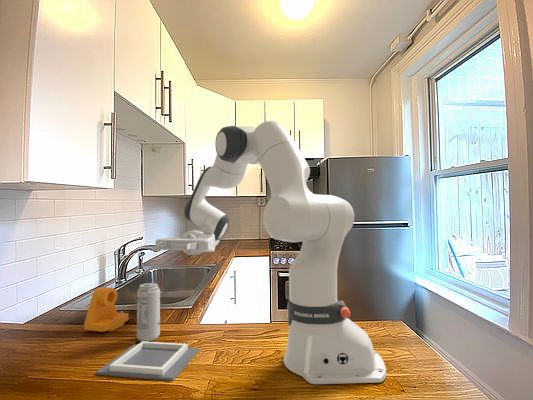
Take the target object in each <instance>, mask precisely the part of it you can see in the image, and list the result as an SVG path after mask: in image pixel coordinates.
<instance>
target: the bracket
mask: <svg viewBox="0 0 533 400" xmlns="http://www.w3.org/2000/svg"><path fill="white" fill-rule="evenodd" d="M117 299H118V290H117V289H116V288H114V287H103V286H101V287H97V288H96V289H95V290H94V291H93V293H92V295H91V299H90V303H89V306H88V308H87V312H86V316H85V319H84V323H83V330H86V331H93V332H113V331H114V330H117V329H118V328H120V327H122V326H124V325H125V323H126V322H128V321H129V318H130V317H129V312H128V313H125V312H118V311H117V308H116V301H117Z"/></svg>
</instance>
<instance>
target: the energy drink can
mask: <svg viewBox="0 0 533 400" xmlns="http://www.w3.org/2000/svg"><path fill="white" fill-rule="evenodd" d="M138 286H139V288H138V289H137V291H136V339H138V341H139V342H140V341H141V342H142V341H146V342H149V341H153V340H155V339H157V338H159V336H160V335H161V289H160V287H159V285H158V283H156V282H148V283H147V282H146V283H142V284H139V285H138ZM157 340H158V339H157ZM155 341H156V340H155ZM141 342H140V343H141ZM153 342H154V341H153Z"/></svg>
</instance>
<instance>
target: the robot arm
mask: <svg viewBox="0 0 533 400" xmlns="http://www.w3.org/2000/svg"><path fill="white" fill-rule="evenodd" d="M215 151H216V156H215V160H214V163H213V165H212V166H207V167H205V169H204V170H203V172H202V173H201V174H200V177H199V178H198V180H197V183H196V185H195V187H194V189H193V191H192V194H191V196H190V197H189V200H188V201H187V203H186V204H185V206H184V207H183V213H184V218H185V219H186V220H187V221H189V222H190V223H193V224H195V225H196V226H197V227H200V228H199V229H194V230H188V231H185V232H184V233H183V234H182V235H181V237H164V238H162V237H161V238H157V239H156V240H155V249H156V250H157V251H158V250H159V251H161V250H162V251H183V253H184V254H186V255H190V256H195V255H200V254H203V253H204V254H205V253H214V252H215V250H216V247H217V246H218V245H219V243H220V241H221V239H222V238H223V237H224V236H225V235H226V233H227V231H228V229H229V228H230V227H229V226H230V225H229V224H230V222H229V221H230V220H229V216H228V214H226V213H225V212H223V211H222V210H220V209H218V208H217V207H215V206H213V205H212V204H210V203H209V202H208V201H207V200H206V196H207V194H208V192H209V189H210V188H211V187H213V188H219V189H223V190H227V189H232V188H235V187H236V186H238V185H240V184H241V183H242V181H243V180H244V177H245V173H246V171H247V167H248V166H249V165H260V167H261V169H262V172H263V174H264V176H265V178H266V180H267V184H268V185H269V189H270V198H269V200H268V201H267V203H266V205H265V207H264V210H263V213H262V221H263V225H264V229H265V231H266V232H267V234H268V235H269V236H270V237H271V238H273V239H274V240H277V241H282V242H286V243H287V242H288V243H300V242H302V245H301V247H300V251H299V253H298V254H297V256H296V257H295V258H294V259H293V260H292V261H291V263H290V265H289V268H288V283H289V284H288V285H289V289H288V290H289V298H288V301H287V304H286V305H287V306H286V307H287V309H286V313H287V314H286V315H287V316H286V317H287V324H288V335H287V343H286V348H285V353H284V355H283V356H284V357H283V364H284V366H285V367H286V368H287V369H288V370H289V371H290V372H292V373H294V374H295V375H299V376H300V377H302V378H303V379H304V380H305V381H306V382H307V383H309V384H312V385H332V384H333V385H335V384H338V385H340V384H367V383H368V384H369V383H372V384H373V383H383V381H385V380H386V378H387V368H386V365H385V362H384V360H383V358H382V357H381V355H380V354H379V353H378V352H377V351H375V350H374V347H373V346H374V345H373V343H372V341H371V339H370V337H369V336H370V335H368V333H367V332H366V331H365V330H364V329H362V328H361V327H360V326H358V324H356V323H355V322H353V321H352V320H351V319H350V317H351V312H350V309H349V308H348V307H347V304H346V303H345V302H344V301H343V300H339V299H338V266H339V260H340V259H339V258H340V254H341V251H342V248H343V247H342V246H343V244H344V240H345V238H346V236H347V235H348V233H349V232H350V231H351V229H352V228H353V225H354V223H355V212H354V208H353V206H352V205H351V204H350V203H349V202H348V201H347V200H345V199H344V198H341V197H338V196H336V195H331V194H317V193H314V192H312V191H310V189H309V188H308V185H307V182H308V179H309V177H310V174H311V168H310V166H309V163H308V162H307V161H306V158H305V156H304V155H303V154H302V151H301V149H299V146H298V145H297V143H296V142H295V140H294V138H293V137H292V136H291V135H290V133H289V132H288V131H287V129H285V128H284V126H283V125H282V124H280V123H279V122H278V121H273V120H266V121H264V122H262V123H260V124H258V125H257V126H256V127H254V126H236V125H229V126H224V127H222V128H221V129H220V130H219V131H217V134H216V137H215ZM248 164H249V165H248Z"/></svg>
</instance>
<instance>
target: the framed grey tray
mask: <svg viewBox="0 0 533 400" xmlns="http://www.w3.org/2000/svg"><path fill="white" fill-rule="evenodd" d="M199 351H200V348H199V347H198V348H197V347H189V343H180V342H178V343H176V342H159V341H153V342H146V341H142V342H139V343H137V344H132V345H131V346H130V347H129V348H128V349H126V350H124V351H122V353H120V354H119V355H117V356H115V358H113V359H112V360H110V361H109V362H108V363H106V364H104V365H103V366H102V367H101V368H99V369H98V370H96V372H95V375H98V376H99V375H100V376H108V377H109V376H111V377H123V378H134V379H146V380H156V381H158V380H160V381H170V382H174V380H175V379H176V378H177V377H178V376H179V375H180V374H181V373H182V371H183V370H184V369H185V368H186V367H187V366H188V364H189V363H190V362H191V361H192V360H193V358H194V357H195V356H196V355H197V354H198V353H197V352H199ZM196 353H197V354H196ZM195 354H196V355H195ZM194 355H195V356H194ZM191 359H192V360H191ZM190 360H191V361H190ZM185 366H186V367H185Z"/></svg>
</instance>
